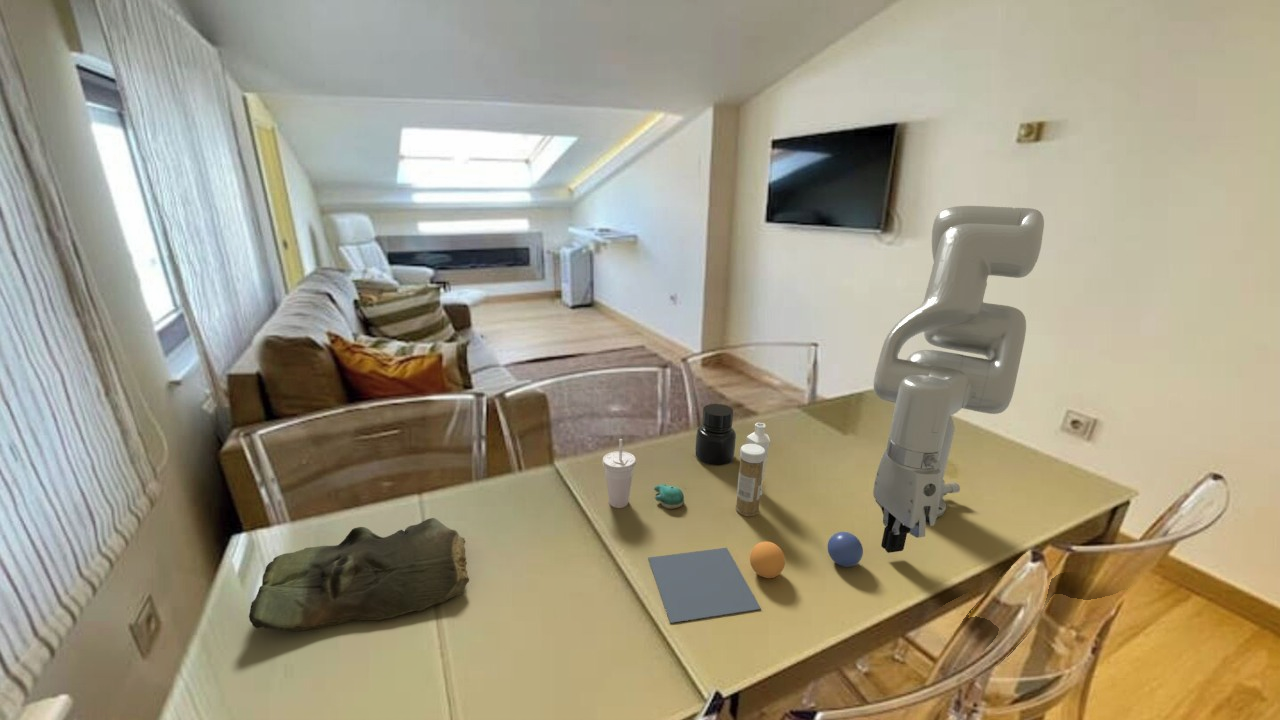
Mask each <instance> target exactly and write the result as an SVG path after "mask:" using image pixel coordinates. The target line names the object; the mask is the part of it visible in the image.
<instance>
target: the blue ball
mask: <svg viewBox="0 0 1280 720" xmlns="http://www.w3.org/2000/svg"><path fill="white" fill-rule="evenodd" d="M863 549H864V548H863V544H862V543H861V541H860V539H859V538H858V537H857V536H856V535H855V534H852V533H851V532H848V531H840V532H839V531H838V532H836V533H834V534H833V535H831V536H830V538H829V540H828V543H827V553H828V555H829V557H830V559H831V560H832V561H833V562H834V563H835V564H837V565H839V566H841V567H844V568H845V567H847V568H850V567H853V566H855V565H856V566H857V564H858V563H860V561H861V560H862V558H863V555H864V550H863Z"/></svg>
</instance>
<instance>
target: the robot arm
mask: <svg viewBox="0 0 1280 720" xmlns="http://www.w3.org/2000/svg"><path fill="white" fill-rule="evenodd" d="M1044 228H1045V219H1044V216H1043V213H1042V212H1041V211H1040V210H1038V209H1036V208H1035V209H1034V208H1032V207H1031V208H1029V207H1013V206H1012V207H1010V206H1008V207H1007V206H989V205H988V206H986V205H958V206H951V207H947V208H944V209H942V210H941V211H940V212H938V213H937V215H936V216H935V218H934V220H933V225H932V230H931V253H932V259H933V264H932V268H931V273H930V275H929V280H928V284H927V287H926V291H925V295H924V299H923V301H922V304H920V305H919V306H918V307H917V308H915V309H914V310H912V311H910V312H908V314H906V315H904V316H903V317H902V318H901V319H900V320H899V321H898V322H897V323H895V325H894V326H893V327H892V328H891V329H890V330H889V332H888V334H887V335H886V338H885V339H884V342H883V344H882V347H881V350H880V354H879V357H878V361H877V365H876V368H875V371H874V377H873V390H874V392H875V395H876V396H877V397H878V398H880V399H881V400H884V401H887V402H890V403H894V404H895V405H894V410H893V415H892V421H891V426H890V429H889V434H888V435H889V436H888V440H887V446H886V449H885V450H884V452H883V454H882V457H881V458H880V459H881V460H880V461H879V465H878V468H877V471H876V475H875V481H874V484H873V489H872V490H873V498H874V499H875V502H876V503H877V505H878V506H879V507H880V509H881V512H882V514H883V515H882V516H883V517H882V524H883V525H884V526H885V527H884V530H883V535H882V539H881V547H882V549H885V551H886V553H888V554H890V553H896V552H897V553H899V552H902V551H904V549H905V544H906V540H907V535H908V534H910V535H912V536H913V537H915V538H924V537H926V526H927V525H928V526H930V527H933V526H934V525H935V524H936V522H937V518H939V517H942V516H943V515H944V514H945V512H946V509H947V503H946V501H945V499H944V496H946V495H947V494H956V493H959V492H960V491H961V487H960V485H959V483H957V482H951V483H945V480H944V476H945V472H946V469H947V464H948V461H949V454H950V451H951V447H952V443H953V438H954V435H955V422H954V420H953V417H952V416H953V415H954V414H956V413H958V412H959V411H960V410H961V409H964V410H969V411H973V412H978V413H983V414H987V415H988V414H989V415H998V414H1001V413H1003V412H1005V411H1006V410H1007V409H1008V408H1009V406H1010V404H1011V402H1012V399H1013V395H1014V392H1015V387H1016V382H1017V377H1018V373H1019V370H1020V369H1019V368H1020V363H1021V358H1022V355H1023V349H1024V346H1025V345H1024V344H1025V341H1026V340H1025V339H1026V333H1027V321H1026V316H1025V314H1024V312H1023V311H1022V310H1020V309H1018V308H1017V307H1014V306H1009V305H1003V304H997V303H996V304H995V303H989V302H984V298H985V293H986V289H987V285H988V278H989V276H994V277H995V276H996V277H1008V278H1016V279H1017V278H1018V279H1019V278H1024V277H1027V276H1029V274H1030V273H1032V271H1033V269H1034V267H1035V266H1036V264H1037V262H1038V258H1039V256H1040V253H1041V248H1042V243H1043V235H1044ZM921 333H923V334H924V335H923V336H924V338H925V340H926V342H927V343H928V344H930V346H931V345H932V346H934V347H937V348H941V349H944V350H945V349H946V350H952V351H956V352H962V353H968V354H976V355H980V356H985V357H986V358H981V357H976V356H970V355H964V354H961V353H954V352H948V351H943V350H934V349H923V350H918V351H915V352H913V353H912V354H910V355H909V356H908V357H907V359H902V358H899V355H900V352H901V350H902V347H903V346H904V345H905V344H906V343H907V341H909V340H910V339H911V338H913V337H915V336H917V335H919V334H921Z"/></svg>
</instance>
